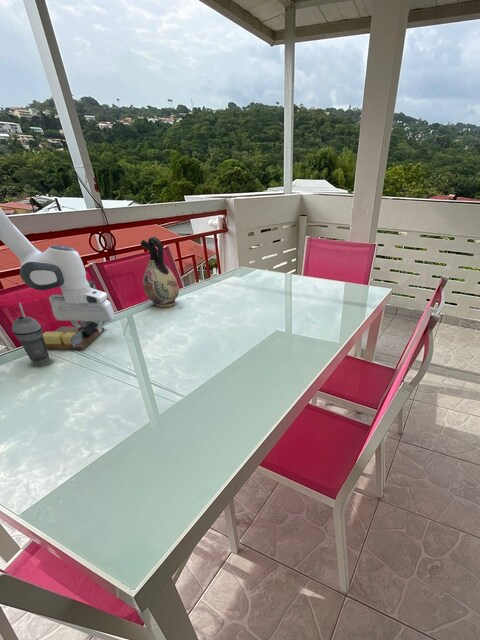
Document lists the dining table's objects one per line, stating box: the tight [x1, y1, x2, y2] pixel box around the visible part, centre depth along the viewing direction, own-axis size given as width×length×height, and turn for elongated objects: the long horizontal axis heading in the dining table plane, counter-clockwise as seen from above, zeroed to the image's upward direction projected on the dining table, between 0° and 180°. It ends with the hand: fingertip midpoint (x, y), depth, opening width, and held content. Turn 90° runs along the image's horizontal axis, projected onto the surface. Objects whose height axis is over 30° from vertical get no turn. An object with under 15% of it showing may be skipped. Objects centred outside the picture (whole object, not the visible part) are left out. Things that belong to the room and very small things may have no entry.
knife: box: [71, 322, 98, 347], centre depth 121 cm, size 2×17×3 cm, turn 3°
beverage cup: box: [11, 302, 51, 368], centre depth 102 cm, size 7×7×20 cm
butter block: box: [43, 331, 64, 344], centre depth 117 cm, size 6×4×3 cm, turn 93°
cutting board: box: [46, 326, 105, 351], centre depth 122 cm, size 16×18×1 cm
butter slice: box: [62, 332, 76, 345], centre depth 117 cm, size 3×4×3 cm
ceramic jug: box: [140, 236, 180, 308], centre depth 150 cm, size 17×15×30 cm
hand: (90, 331), depth 125 cm, fingers open, 5 cm apart
